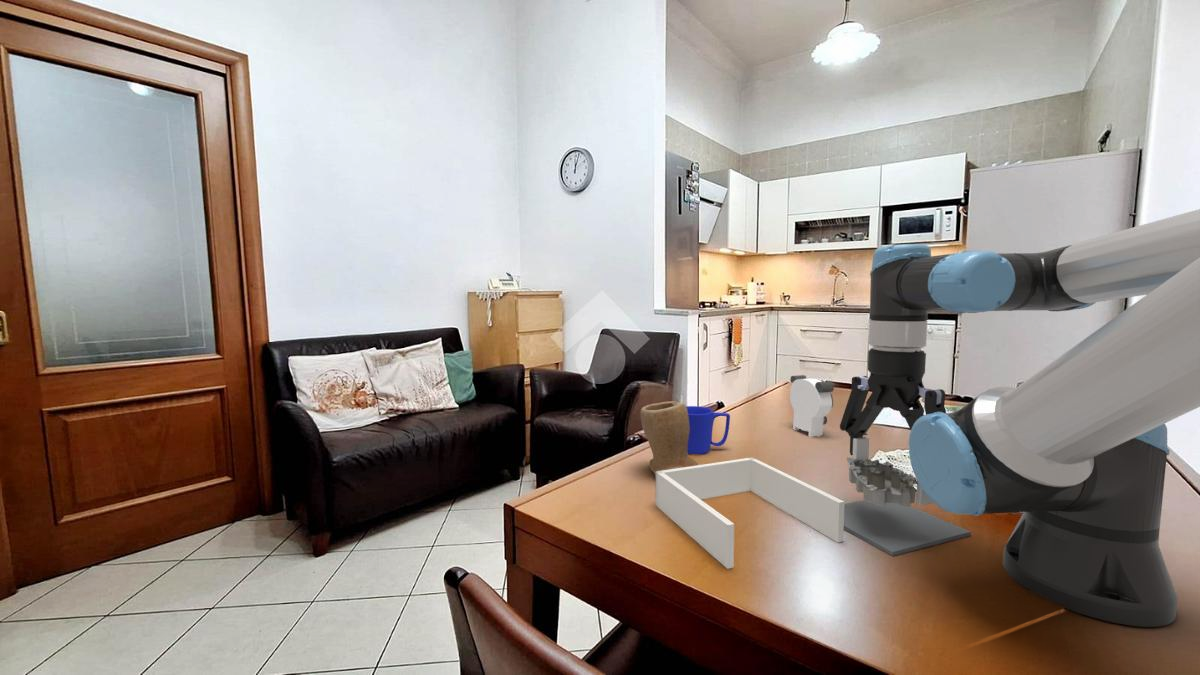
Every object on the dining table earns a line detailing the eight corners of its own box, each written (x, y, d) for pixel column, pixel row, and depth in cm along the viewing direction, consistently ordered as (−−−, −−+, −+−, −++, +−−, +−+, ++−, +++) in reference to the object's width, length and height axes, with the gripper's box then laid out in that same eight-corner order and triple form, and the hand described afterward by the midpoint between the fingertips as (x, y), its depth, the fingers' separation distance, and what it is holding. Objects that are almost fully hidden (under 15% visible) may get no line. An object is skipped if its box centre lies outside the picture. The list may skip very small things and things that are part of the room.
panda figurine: (844, 441, 119) (846, 381, 118) (806, 445, 116) (807, 383, 115) (810, 428, 131) (812, 373, 130) (774, 432, 128) (776, 375, 126)
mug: (733, 458, 107) (734, 414, 107) (679, 458, 108) (679, 414, 107) (724, 446, 116) (725, 405, 115) (674, 447, 116) (674, 406, 115)
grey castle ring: (921, 509, 69) (921, 481, 68) (862, 506, 71) (862, 480, 70) (895, 477, 79) (895, 453, 78) (844, 476, 81) (844, 452, 80)
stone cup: (636, 465, 103) (635, 396, 102) (690, 463, 105) (690, 394, 103) (650, 494, 88) (650, 413, 87) (714, 491, 90) (714, 411, 88)
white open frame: (843, 541, 71) (844, 501, 70) (727, 568, 64) (727, 525, 63) (751, 488, 90) (752, 457, 90) (655, 505, 84) (655, 471, 83)
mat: (970, 535, 72) (970, 531, 72) (892, 556, 67) (892, 551, 67) (886, 499, 85) (886, 495, 85) (815, 513, 80) (815, 510, 80)
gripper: (996, 355, 64) (986, 516, 66) (852, 340, 86) (847, 462, 88) (958, 358, 62) (948, 525, 64) (819, 342, 83) (815, 467, 85)
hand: (890, 488), depth 76 cm, fingers closed on grey castle ring, 10 cm apart
